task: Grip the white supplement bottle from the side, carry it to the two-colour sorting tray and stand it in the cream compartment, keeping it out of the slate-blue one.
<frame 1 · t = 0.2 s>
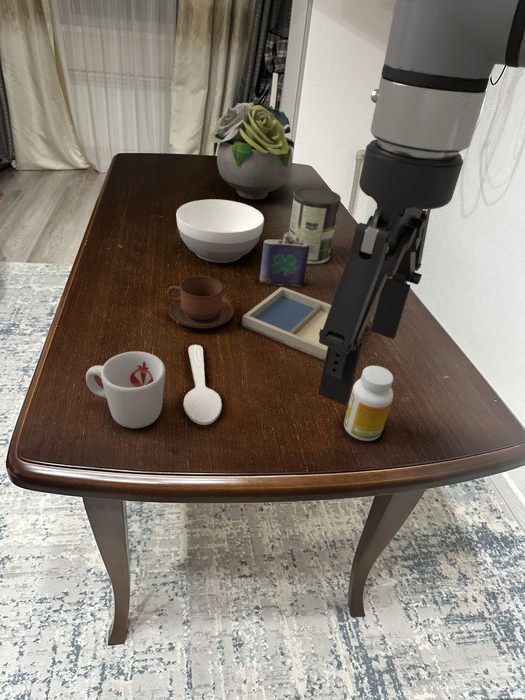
hand: (360, 362, 50), 18 cm above the table, tool pointing down, fingers open, 13 cm apart
cup and saucer: (201, 317, 89), on the table
cup: (127, 413, 67), on the table
spoon: (199, 383, 74), on the table
coffee can: (307, 255, 114), on the table
supplement bottle: (362, 429, 69), on the table
sorting tray: (304, 326, 89), on the table
flower arrangement: (252, 195, 144), on the table
bowl: (218, 252, 111), on the table
flask: (281, 283, 102), on the table
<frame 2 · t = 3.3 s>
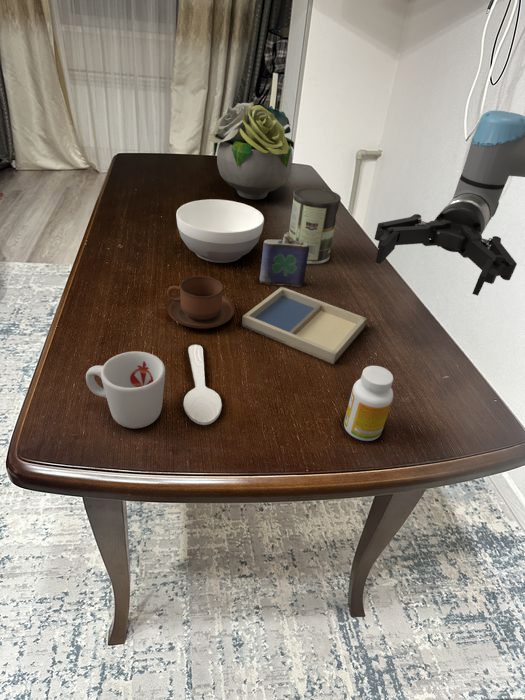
hand: (427, 269, 66), 20 cm above the table, tool horizontal, fingers open, 13 cm apart
nothing on the table moved.
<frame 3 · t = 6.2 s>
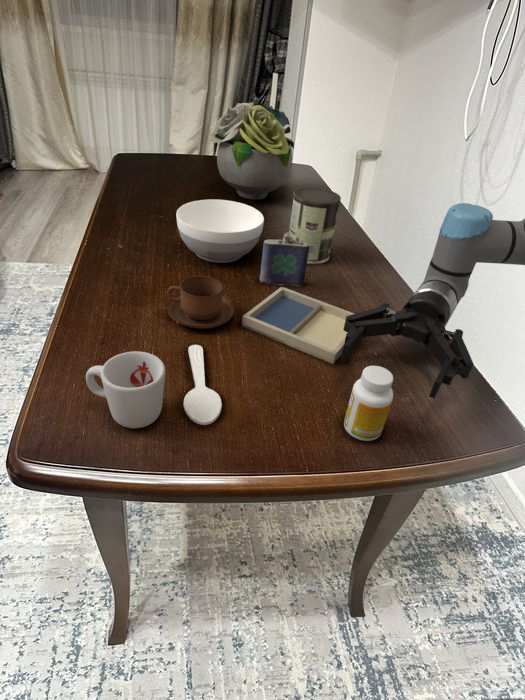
hand: (387, 371, 70), 6 cm above the table, tool horizontal, fingers open, 13 cm apart
nothing on the table moved.
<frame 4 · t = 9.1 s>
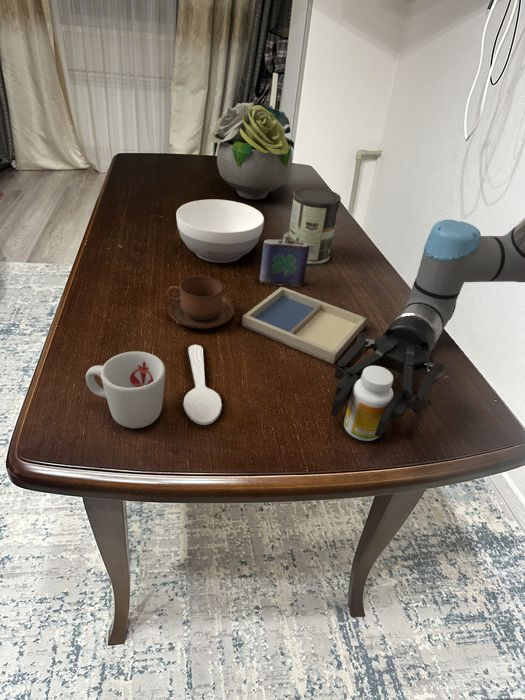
hand: (357, 418, 62), 6 cm above the table, tool horizontal, fingers closed on supplement bottle, 5 cm apart
supplement bottle: (362, 429, 69), on the table, touching gripper
everything else where it was.
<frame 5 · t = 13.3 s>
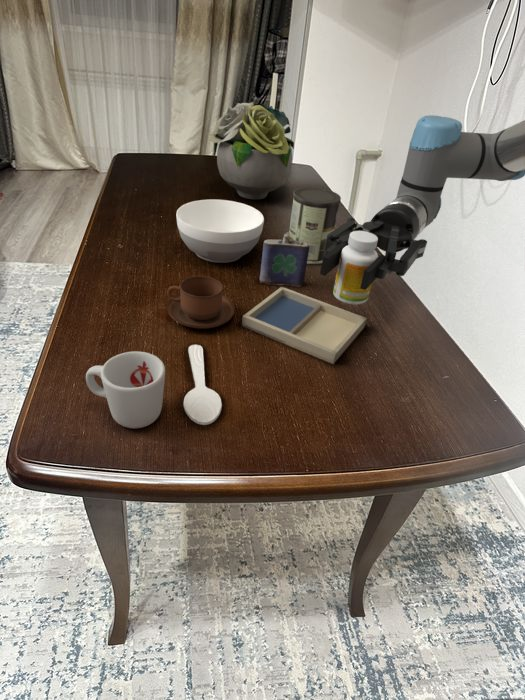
hand: (344, 273, 67), 18 cm above the table, tool horizontal, fingers closed on supplement bottle, 5 cm apart
supplement bottle: (349, 297, 74), point 12 cm above the table, touching gripper
everything else where it was.
when the fingers open (7 cm above the table, at t = 17.7 s): supplement bottle stays where it is, resting on sorting tray.
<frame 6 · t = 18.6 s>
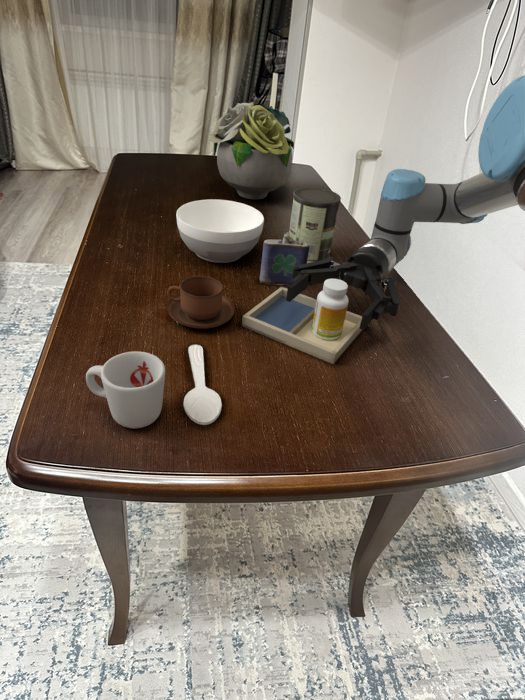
hand: (324, 308, 81), 7 cm above the table, tool horizontal, fingers open, 13 cm apart
supplement bottle: (326, 333, 87), resting on sorting tray
everything else where it was.
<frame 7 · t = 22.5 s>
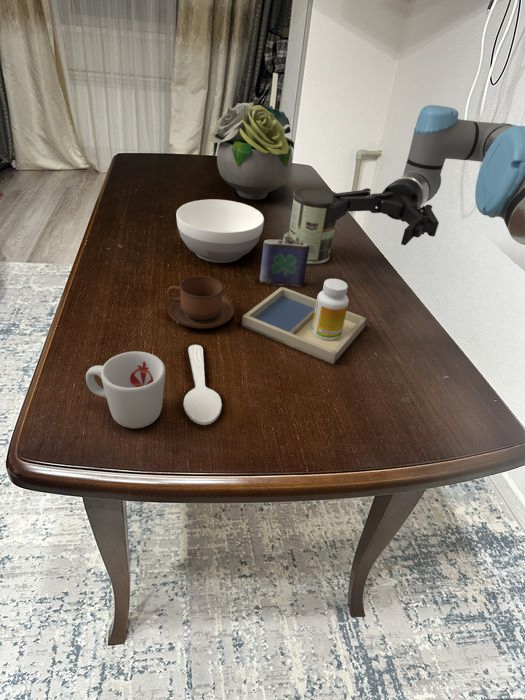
hand: (366, 226, 84), 18 cm above the table, tool horizontal, fingers open, 13 cm apart
nothing on the table moved.
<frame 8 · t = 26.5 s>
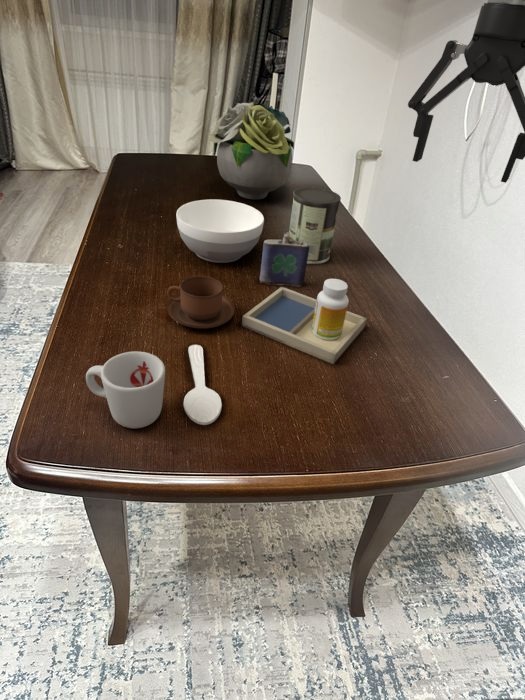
hand: (459, 169, 76), 29 cm above the table, tool pointing down, fingers open, 13 cm apart
nothing on the table moved.
at the end: supplement bottle inside the target area on the sorting tray (0.1 cm from its centre), point 0.4 cm above the sorting tray's base; supplement bottle tilted 0°; the gripper is holding nothing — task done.
